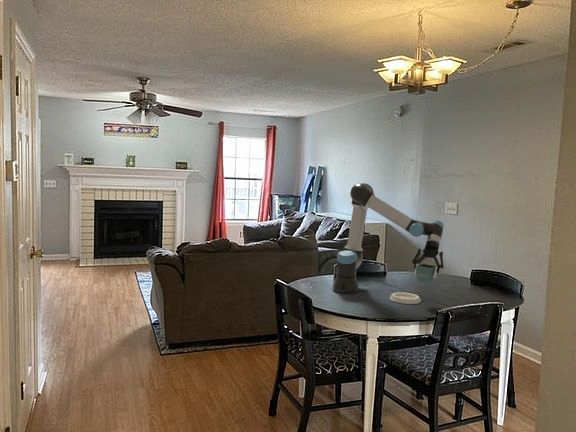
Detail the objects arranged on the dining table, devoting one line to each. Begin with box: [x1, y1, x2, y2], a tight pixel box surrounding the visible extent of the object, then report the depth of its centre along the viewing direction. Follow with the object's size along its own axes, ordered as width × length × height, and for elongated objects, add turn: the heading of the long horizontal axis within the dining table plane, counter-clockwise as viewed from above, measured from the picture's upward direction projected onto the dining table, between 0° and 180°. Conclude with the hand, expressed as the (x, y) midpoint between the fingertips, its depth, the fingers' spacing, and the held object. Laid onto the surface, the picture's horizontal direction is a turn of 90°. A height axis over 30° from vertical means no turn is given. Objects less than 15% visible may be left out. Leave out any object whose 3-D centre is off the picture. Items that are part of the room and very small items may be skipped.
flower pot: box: [416, 263, 437, 284], centre depth 273 cm, size 9×9×9 cm
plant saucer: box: [389, 291, 422, 305], centre depth 279 cm, size 17×17×2 cm
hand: (424, 275), depth 271 cm, fingers closed on flower pot, 10 cm apart
